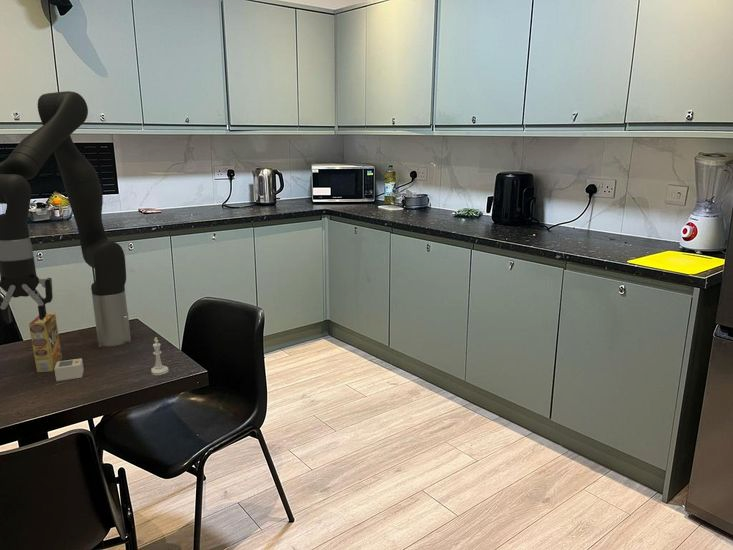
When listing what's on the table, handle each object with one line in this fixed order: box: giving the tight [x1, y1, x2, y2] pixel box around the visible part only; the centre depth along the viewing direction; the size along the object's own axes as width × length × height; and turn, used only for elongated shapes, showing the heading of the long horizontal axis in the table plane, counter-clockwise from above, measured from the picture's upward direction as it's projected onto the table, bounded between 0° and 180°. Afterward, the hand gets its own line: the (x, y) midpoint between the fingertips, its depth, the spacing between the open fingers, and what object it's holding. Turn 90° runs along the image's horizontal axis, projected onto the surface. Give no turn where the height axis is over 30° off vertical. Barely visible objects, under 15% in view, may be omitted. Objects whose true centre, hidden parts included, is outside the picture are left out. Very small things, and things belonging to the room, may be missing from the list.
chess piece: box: [150, 336, 170, 376], centre depth 150 cm, size 5×5×10 cm
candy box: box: [28, 312, 63, 373], centre depth 150 cm, size 9×4×15 cm, turn 13°
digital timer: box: [54, 358, 84, 382], centre depth 145 cm, size 6×5×4 cm
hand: (25, 320), depth 138 cm, fingers open, 6 cm apart
